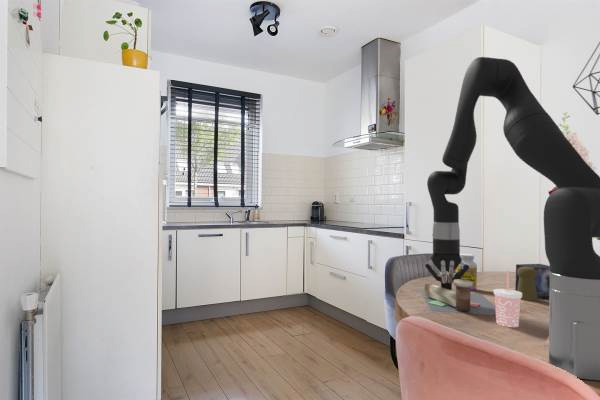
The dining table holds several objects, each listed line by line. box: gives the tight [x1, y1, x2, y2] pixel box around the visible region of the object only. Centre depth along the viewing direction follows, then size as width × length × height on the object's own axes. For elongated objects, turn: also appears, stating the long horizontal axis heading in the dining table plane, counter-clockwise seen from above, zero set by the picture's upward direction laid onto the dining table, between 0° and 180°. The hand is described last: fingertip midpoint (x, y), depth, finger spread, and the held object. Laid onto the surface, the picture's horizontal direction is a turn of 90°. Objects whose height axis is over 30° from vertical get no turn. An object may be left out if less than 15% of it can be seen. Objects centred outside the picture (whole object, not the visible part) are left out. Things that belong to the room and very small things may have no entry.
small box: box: [514, 263, 550, 300], centre depth 120 cm, size 11×6×10 cm, turn 105°
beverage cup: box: [493, 270, 522, 328], centre depth 88 cm, size 6×6×14 cm
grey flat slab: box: [419, 289, 496, 316], centre depth 108 cm, size 24×19×2 cm
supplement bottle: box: [455, 253, 478, 291], centre depth 126 cm, size 7×7×13 cm
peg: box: [424, 279, 473, 311], centre depth 104 cm, size 17×5×8 cm, turn 18°
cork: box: [517, 267, 539, 302], centre depth 112 cm, size 6×6×11 cm
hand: (446, 295), depth 109 cm, fingers closed
